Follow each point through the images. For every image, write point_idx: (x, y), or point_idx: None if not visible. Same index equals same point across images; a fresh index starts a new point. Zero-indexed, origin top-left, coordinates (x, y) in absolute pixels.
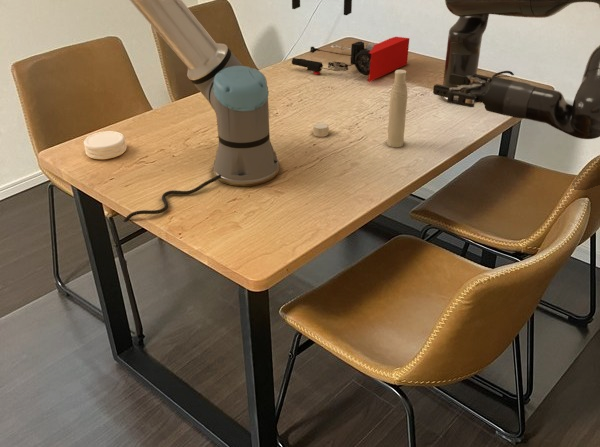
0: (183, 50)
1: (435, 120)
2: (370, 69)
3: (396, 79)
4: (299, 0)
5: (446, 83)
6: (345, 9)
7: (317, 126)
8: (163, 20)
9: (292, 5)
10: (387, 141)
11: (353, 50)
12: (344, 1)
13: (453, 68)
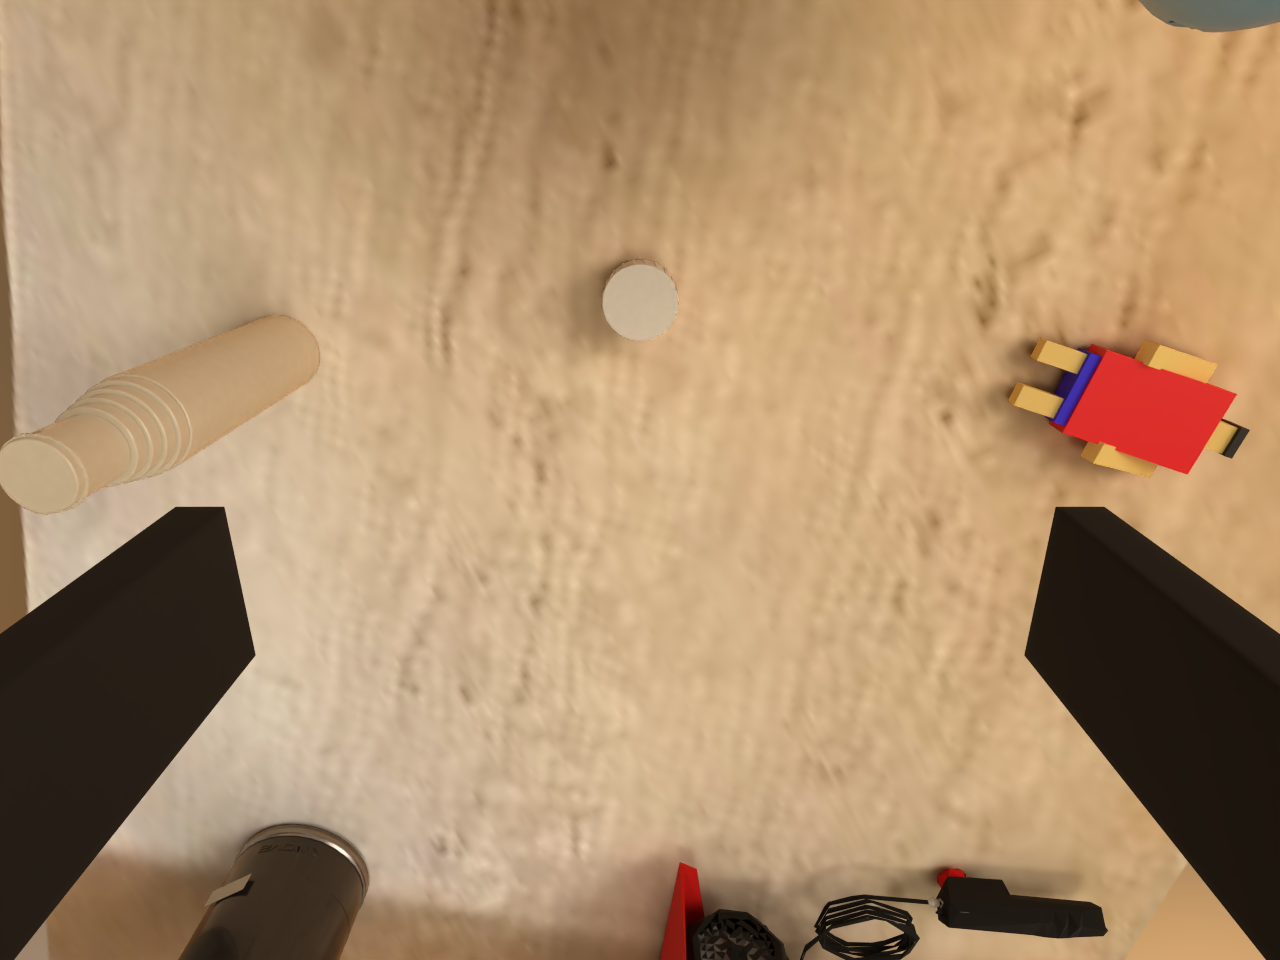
0: None
1: (265, 648)
2: (682, 913)
3: (76, 426)
4: (1075, 694)
5: (306, 895)
6: (145, 541)
7: (651, 284)
8: None
9: (1125, 528)
10: (305, 335)
11: None
12: (85, 605)
13: (240, 957)
